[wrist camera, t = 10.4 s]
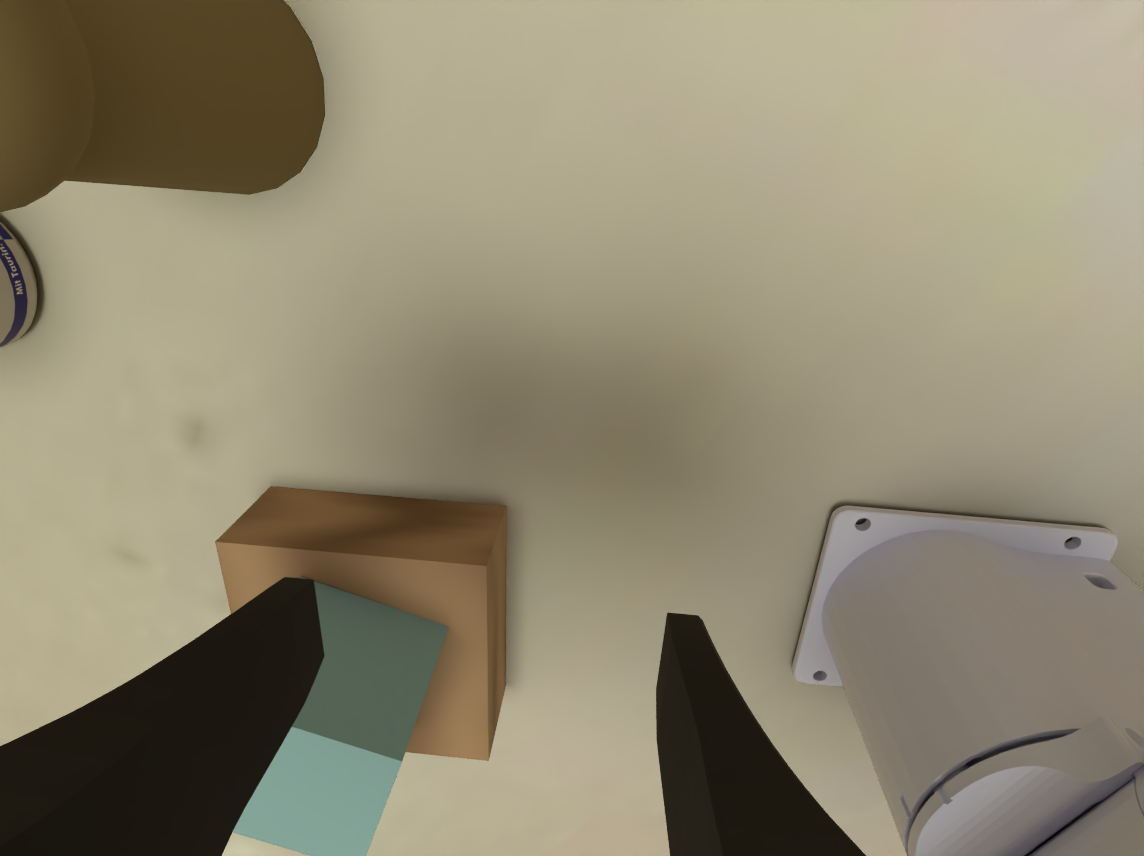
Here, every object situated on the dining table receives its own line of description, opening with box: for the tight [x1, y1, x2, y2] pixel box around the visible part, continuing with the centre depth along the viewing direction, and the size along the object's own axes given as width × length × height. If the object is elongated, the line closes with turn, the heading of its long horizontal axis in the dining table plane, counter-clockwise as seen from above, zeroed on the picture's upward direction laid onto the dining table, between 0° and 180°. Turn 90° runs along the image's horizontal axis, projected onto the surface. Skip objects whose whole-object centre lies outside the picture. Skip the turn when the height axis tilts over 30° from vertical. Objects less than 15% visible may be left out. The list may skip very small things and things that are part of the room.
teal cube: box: [233, 576, 449, 856], centre depth 21 cm, size 5×5×5 cm
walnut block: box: [215, 487, 506, 761], centre depth 25 cm, size 9×9×4 cm
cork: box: [0, 0, 325, 212], centre depth 14 cm, size 6×6×11 cm
